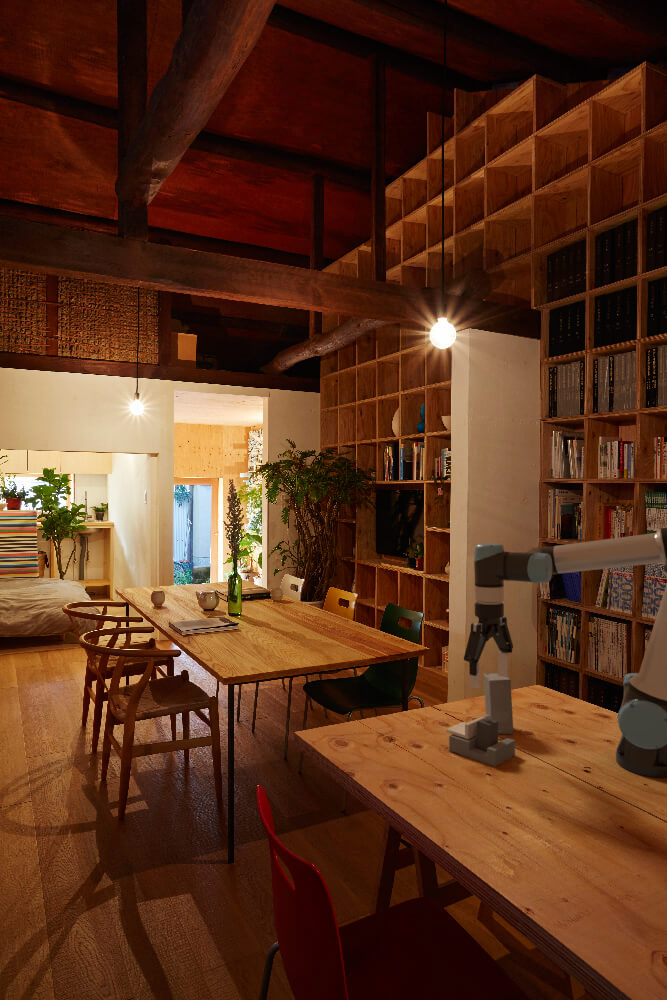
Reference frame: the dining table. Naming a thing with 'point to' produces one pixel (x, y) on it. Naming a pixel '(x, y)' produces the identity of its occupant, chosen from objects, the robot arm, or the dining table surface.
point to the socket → (491, 757)
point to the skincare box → (499, 701)
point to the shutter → (465, 729)
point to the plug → (486, 733)
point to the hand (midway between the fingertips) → (489, 681)
